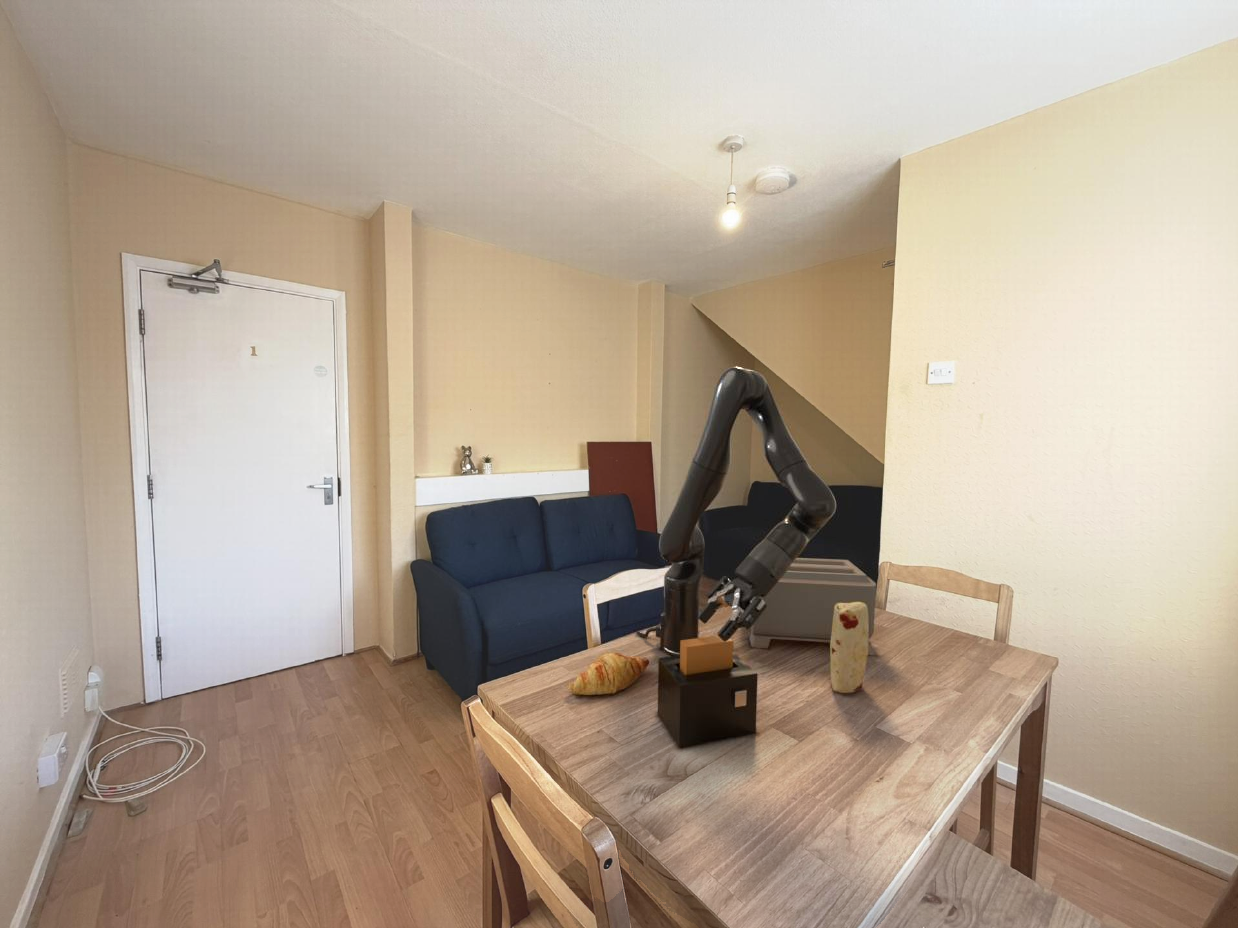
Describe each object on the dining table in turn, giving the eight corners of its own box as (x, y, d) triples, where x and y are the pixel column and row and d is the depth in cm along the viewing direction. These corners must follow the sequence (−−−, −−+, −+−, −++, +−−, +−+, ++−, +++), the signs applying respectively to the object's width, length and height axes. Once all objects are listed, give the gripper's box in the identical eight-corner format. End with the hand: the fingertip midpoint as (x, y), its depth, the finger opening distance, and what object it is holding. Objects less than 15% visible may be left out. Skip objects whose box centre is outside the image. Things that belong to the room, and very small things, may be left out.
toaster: (731, 618, 149) (732, 553, 148) (851, 625, 145) (854, 558, 143) (737, 646, 130) (740, 571, 129) (876, 655, 125) (880, 578, 124)
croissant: (576, 718, 103) (584, 695, 99) (556, 679, 110) (563, 656, 106) (654, 686, 115) (664, 664, 111) (631, 653, 122) (640, 631, 118)
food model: (846, 701, 104) (851, 611, 103) (820, 687, 110) (823, 601, 108) (873, 689, 109) (878, 603, 108) (846, 676, 115) (850, 594, 113)
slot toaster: (657, 714, 99) (658, 657, 98) (727, 701, 104) (728, 647, 103) (681, 751, 88) (682, 687, 87) (758, 735, 93) (760, 675, 92)
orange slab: (679, 689, 96) (680, 640, 95) (724, 681, 99) (726, 634, 98) (685, 697, 93) (686, 646, 92) (732, 689, 96) (733, 640, 95)
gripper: (734, 546, 103) (683, 604, 101) (773, 565, 90) (715, 632, 87) (755, 569, 105) (705, 626, 103) (796, 590, 92) (741, 657, 89)
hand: (710, 629), depth 95 cm, fingers open, 8 cm apart
